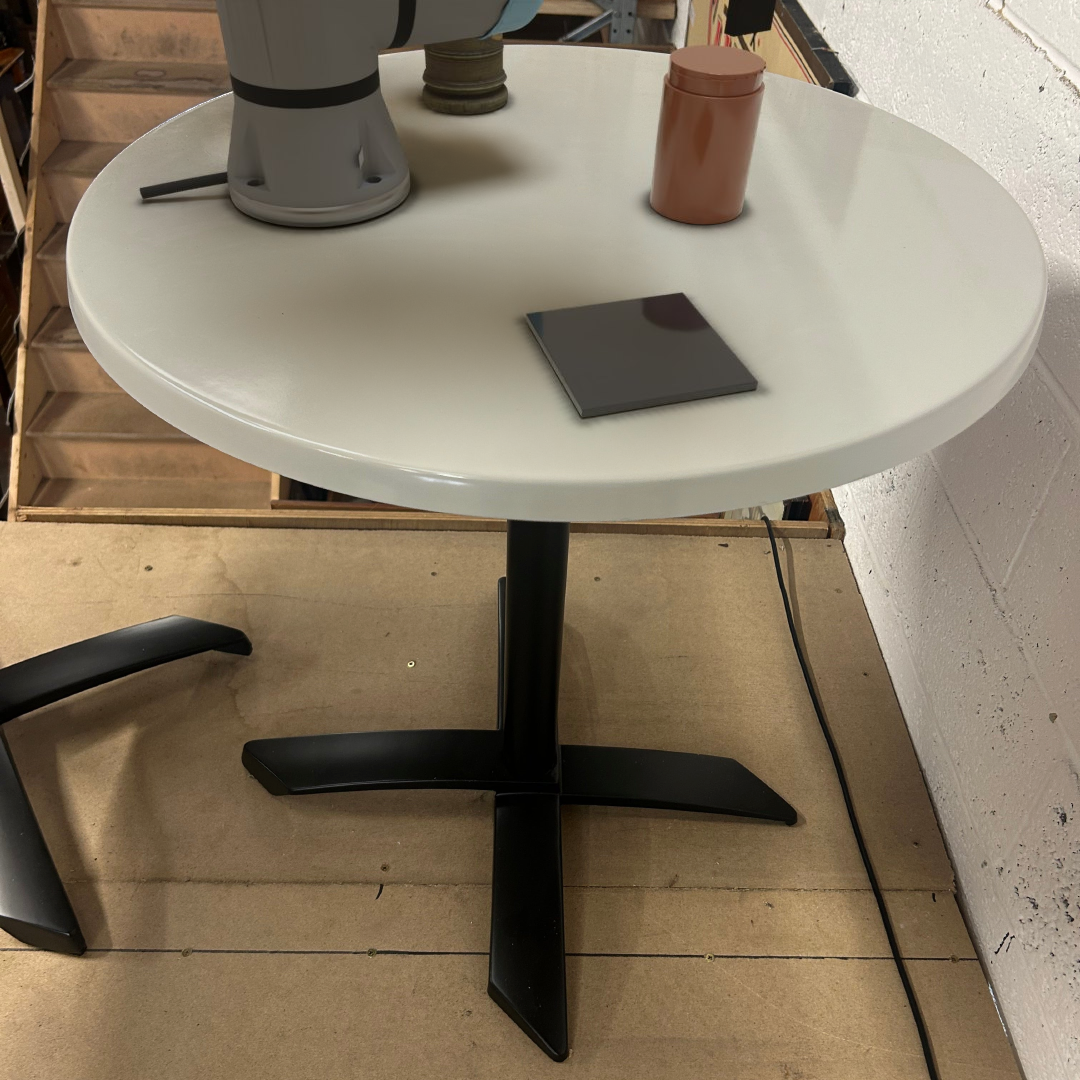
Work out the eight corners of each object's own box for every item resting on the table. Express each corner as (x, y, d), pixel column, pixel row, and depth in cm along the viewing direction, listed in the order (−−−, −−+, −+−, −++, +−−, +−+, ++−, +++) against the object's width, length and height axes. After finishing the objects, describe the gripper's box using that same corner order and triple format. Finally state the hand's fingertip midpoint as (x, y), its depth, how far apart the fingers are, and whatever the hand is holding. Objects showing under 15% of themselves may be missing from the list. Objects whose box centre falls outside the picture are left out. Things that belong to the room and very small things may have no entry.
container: (420, 114, 93) (407, -99, 81) (425, 85, 100) (414, -116, 87) (508, 116, 93) (509, -96, 81) (507, 87, 100) (508, -113, 88)
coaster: (581, 418, 56) (582, 410, 56) (525, 320, 64) (525, 313, 64) (756, 389, 59) (758, 381, 59) (681, 299, 67) (682, 291, 67)
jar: (661, 226, 76) (679, 76, 68) (641, 186, 82) (655, 44, 74) (753, 223, 77) (782, 75, 69) (727, 184, 83) (751, 43, 75)
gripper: (1066, -663, 32) (881, 52, 47) (672, -574, 44) (629, -36, 60) (921, -706, 28) (774, 74, 44) (543, -598, 41) (533, -24, 57)
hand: (691, 10), depth 52 cm, fingers closed on lid, 9 cm apart
